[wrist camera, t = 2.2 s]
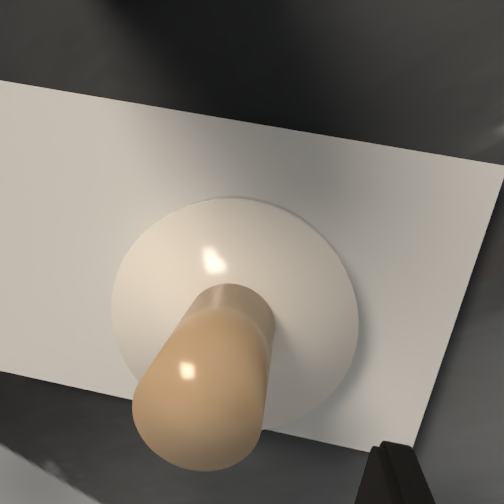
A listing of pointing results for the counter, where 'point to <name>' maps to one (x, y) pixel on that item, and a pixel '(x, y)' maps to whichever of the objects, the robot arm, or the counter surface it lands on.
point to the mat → (217, 185)
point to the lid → (230, 327)
